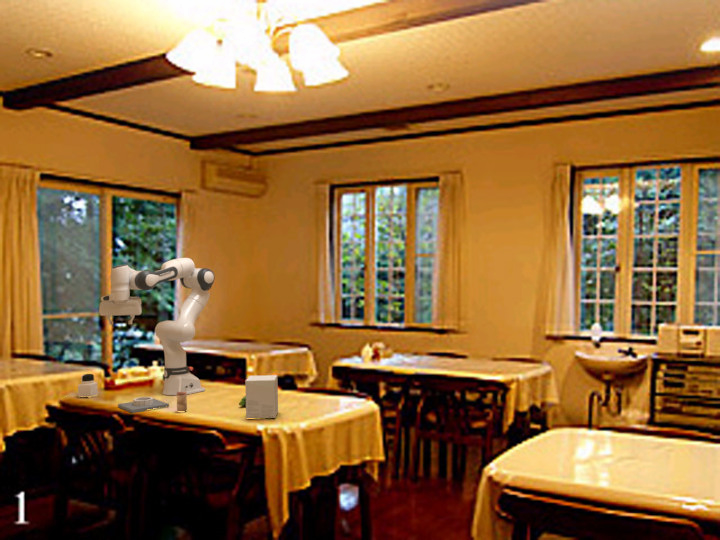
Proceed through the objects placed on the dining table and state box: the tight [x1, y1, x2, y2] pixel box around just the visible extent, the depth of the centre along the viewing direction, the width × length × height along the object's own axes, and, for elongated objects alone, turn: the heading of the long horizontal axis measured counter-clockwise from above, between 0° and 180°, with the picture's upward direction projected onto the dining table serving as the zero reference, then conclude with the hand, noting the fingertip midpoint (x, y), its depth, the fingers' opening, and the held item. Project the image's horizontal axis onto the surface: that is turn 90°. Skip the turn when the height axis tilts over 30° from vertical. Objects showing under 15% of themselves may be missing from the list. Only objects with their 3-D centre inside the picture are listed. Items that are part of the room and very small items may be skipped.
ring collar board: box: [117, 396, 170, 414], centre depth 311 cm, size 18×18×4 cm
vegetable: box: [238, 395, 246, 408], centre depth 313 cm, size 7×7×20 cm
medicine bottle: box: [77, 373, 98, 397], centre depth 338 cm, size 7×7×12 cm
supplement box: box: [244, 374, 279, 419], centre depth 288 cm, size 13×13×18 cm
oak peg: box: [176, 392, 188, 412], centre depth 299 cm, size 4×4×9 cm
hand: (120, 324), depth 320 cm, fingers open, 8 cm apart
